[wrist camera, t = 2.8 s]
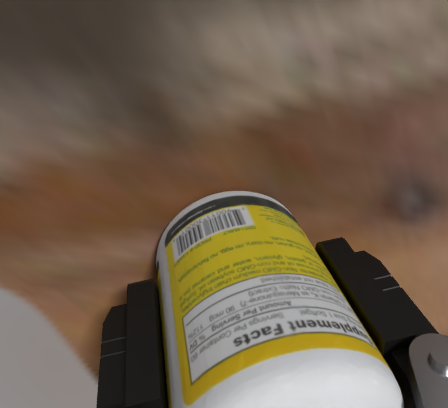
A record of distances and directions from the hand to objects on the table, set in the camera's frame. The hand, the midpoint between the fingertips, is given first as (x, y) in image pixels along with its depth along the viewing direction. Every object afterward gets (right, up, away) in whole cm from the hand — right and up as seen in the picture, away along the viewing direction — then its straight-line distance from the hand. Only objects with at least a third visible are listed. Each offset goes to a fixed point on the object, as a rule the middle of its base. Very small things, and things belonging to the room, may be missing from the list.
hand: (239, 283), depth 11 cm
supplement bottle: (0, +1, +2) cm, 2 cm away
